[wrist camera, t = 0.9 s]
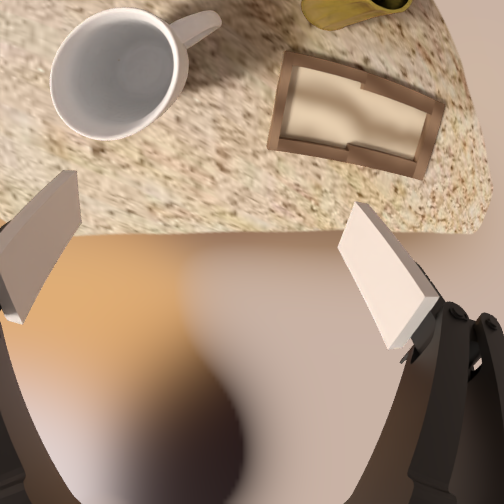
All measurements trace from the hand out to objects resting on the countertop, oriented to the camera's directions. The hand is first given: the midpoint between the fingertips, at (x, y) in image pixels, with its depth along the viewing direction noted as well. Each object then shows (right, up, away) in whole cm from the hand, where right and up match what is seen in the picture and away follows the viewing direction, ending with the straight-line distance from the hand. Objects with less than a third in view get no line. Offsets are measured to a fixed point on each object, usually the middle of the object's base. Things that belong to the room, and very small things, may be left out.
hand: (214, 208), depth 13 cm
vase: (+10, +26, +11) cm, 30 cm away
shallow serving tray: (+16, +15, +20) cm, 29 cm away
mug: (-9, +19, +14) cm, 26 cm away
